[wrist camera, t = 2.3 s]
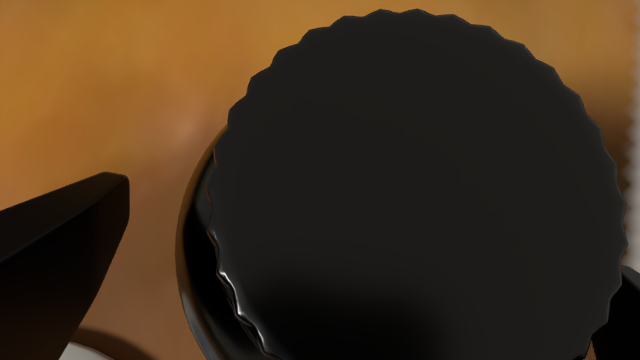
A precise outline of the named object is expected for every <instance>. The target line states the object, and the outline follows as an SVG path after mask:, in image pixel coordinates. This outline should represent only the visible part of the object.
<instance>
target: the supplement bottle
mask: <svg viewBox="0 0 640 360" xmlns="http://www.w3.org/2000/svg"><path fill="white" fill-rule="evenodd" d="M617 178H618V171H617V164H616V162H615V161H614V159H613V158H612V156H611V155H610V154H609V152H608V151H607V150H606V148H605V145H604V138H603V133H602V129H601V128H600V127H599V126H598V125H597V124H596V122H595V121H594V120H592V119H591V118H590V117H589V116H588V115H587V113H586V111H585V108H584V104H583V102H582V100H581V97H580V96H579V95H578V94H577V93H575V92H574V91H573V90H571V89H570V88H568V87H567V86H565V85H564V84H563V82H562V81H561V79H560V78H559V75H558V74H557V72H556V70H555V69H554V68H553V67H552V66H550V65H548V64H546V63H544V62H542V61H539V60H537V59H536V58H535V57H534V56H533V55H532V53H531V52H530V51H529V50H528V49H527V48H526V47H525V45H524V44H521V43H518V42H515V41H512V40H508V39H505V38H503V37H502V36H501V35H499V34H498V32H496V31H495V30H494V29H493V28H491V27H490V26H485V25H475V24H470V23H468V22H467V21H465V20H464V19H462V18H460V17H458V16H456V15H454V14H446V15H437V16H436V15H433V14H430V13H428V12H426V11H423V10H420V9H413V10H408V11H405V12H402V13H397V12H392V11H389V10H383V9H379V10H377V11H374V12H372V13H370V14H368V15H366V16H364V17H357V16H343V17H341V18H340V19H338V20H337V21H335V22H334V23H333V24H332V25H331V26H330V27H321V28H315V29H311V30H309V31H308V32H307V33H306V34H305V35H304V36H303V37H302V39H301V41H300V42H299V43H298V44H295V45H291V46H288V47H286V48H283V49H281V50H279V51H278V52H277V53H276V55H275V57H274V58H273V61H272V64H271V65H270V67H268V68H266V69H264V70H262V71H260V72H259V73H257V74H256V75H254V76H253V77H251V79H250V82H249V84H248V87H247V93H246V96H244V97H243V98H242V99H240V100H239V101H238V102H237V103H236V104H235V105H234V106H233V107H232V108H230V109H229V113H228V120H227V124H226V125H225V126H224V127H223V129H222V130H221V131H220V132H219V133H218V134H217V135H216V137H215V138H214V139H213V141H212V142H211V143H210V145H209V146H208V147H207V149H206V150H205V152H204V154H203V155H202V157H201V159H200V160H199V162H198V164H197V166H196V168H195V170H194V172H193V174H192V176H191V178H190V181H189V183H188V186H187V189H186V192H185V194H184V197H183V201H182V205H181V209H180V213H179V217H178V224H177V230H176V242H175V264H176V276H177V283H178V289H179V294H180V298H181V302H182V306H183V309H184V313H185V315H186V318H187V321H188V323H189V326H190V329H191V331H192V333H193V335H194V337H195V339H196V341H197V343H198V345H199V347H200V349H201V351H202V352H203V354H204V355H205V357H206V359H207V360H583V359H585V357H586V355H587V352H588V349H589V346H590V342H591V338H592V336H593V335H594V334H595V333H597V332H598V331H599V330H601V329H602V328H603V327H604V326H605V325H606V324H607V323H608V316H609V308H610V299H611V298H612V296H613V295H614V294H615V293H617V291H618V290H619V288H620V286H621V285H622V276H621V265H620V261H621V258H622V256H623V255H624V253H625V251H626V248H627V246H628V242H627V238H626V233H625V230H624V227H623V223H622V222H623V217H624V214H625V210H626V202H625V200H624V197H623V195H622V193H621V191H620V189H619V187H618V185H617Z"/></svg>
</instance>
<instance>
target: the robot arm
mask: <svg viewBox="0 0 640 360" xmlns="http://www.w3.org/2000/svg"><path fill="white" fill-rule="evenodd" d="M129 215H130V189H129V179H128V177H127V176H126V175H122V174H116V173H111V172H102V173H99V174H96V175H94V176H91V177H88V178H86V179H83V180H81V181H78V182H75V183H73V184H70V185H67V186H65V187H62V188H59V189H57V190H54V191H51V192H49V193H46V194H43V195H41V196H38V197H35V198H33V199H30V200H27V201H25V202H22V203H19V204H17V205H14V206H12V207H9V208H6V209H4V210H1V211H0V360H59V359H60V357H61V356H62V354H63V352H64V350H65V349H66V347H67V345H68V344H69V342H70V340H71V339H72V337H73V335H74V333H75V332H76V330H77V328H78V327H79V325H80V323H81V322H82V320H83V318H84V316H85V315H86V313H87V311H88V310H89V308H90V306H91V304H92V303H93V301H94V299H95V297H96V295H97V293H98V291H99V289H100V287H101V285H102V283H103V280H104V278H105V276H106V273H107V271H108V269H109V266H110V264H111V262H112V259H113V257H114V255H115V253H116V250H117V248H118V246H119V243H120V241H121V239H122V236H123V234H124V232H125V229H126V227H127V224H128V221H129ZM621 276H622V285H621V286H620V288H619V290H618V291H617V293H615V294H614V295H613V296H612V298H611V299H610V308H609V316H608V323H607V324H606V325H605V326H604V327H603V328H602V329H601V330H599V331H598V332H597V333H595V334H594V335H593V336H592V338H591V340H592V344H593V348H594V352H595V355H596V359H597V360H640V273H638V272H637V271H635V270H633V269H632V268H630V267H627V266H623V265H621Z"/></svg>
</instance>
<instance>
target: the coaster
mask: <svg viewBox="0 0 640 360" xmlns="http://www.w3.org/2000/svg"><path fill="white" fill-rule="evenodd" d="M59 360H115V359H113V358H111V357H109V356H107V355H105V354H103V353H101V352H99V351H98V350H95V349H93V348H90V347H87V346H84V345H81V344H79V343H75V342H69V344H68V345H67V347H66V349H65V350H64V352H63V354H62V356H61V357H60V359H59Z"/></svg>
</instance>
